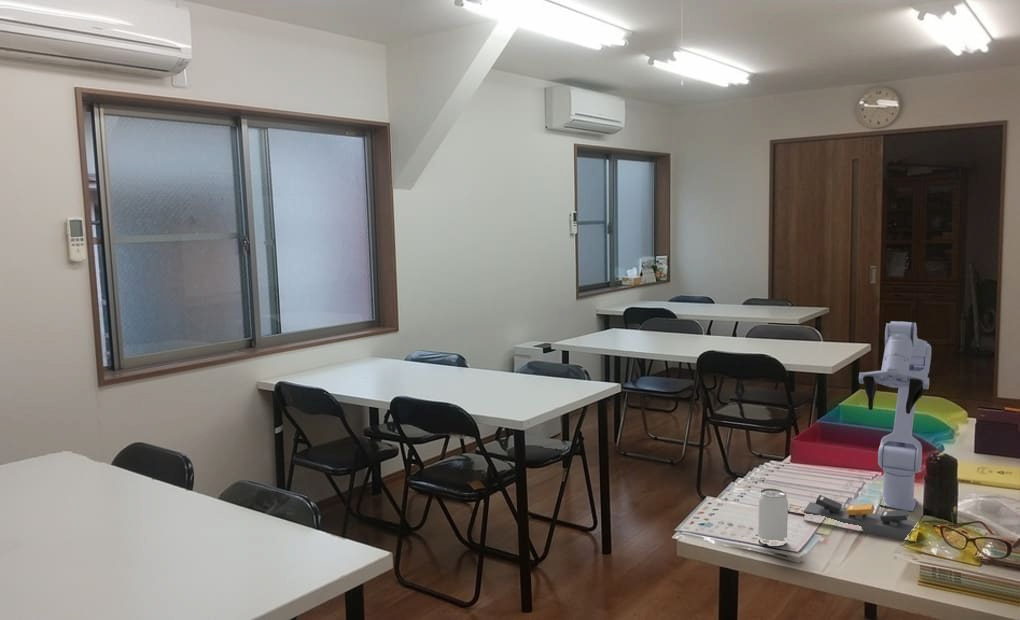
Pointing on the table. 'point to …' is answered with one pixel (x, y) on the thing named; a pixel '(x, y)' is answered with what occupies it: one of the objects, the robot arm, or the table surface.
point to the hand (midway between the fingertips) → (888, 409)
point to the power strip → (866, 522)
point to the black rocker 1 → (828, 504)
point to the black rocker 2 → (894, 515)
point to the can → (772, 514)
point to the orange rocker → (860, 509)
